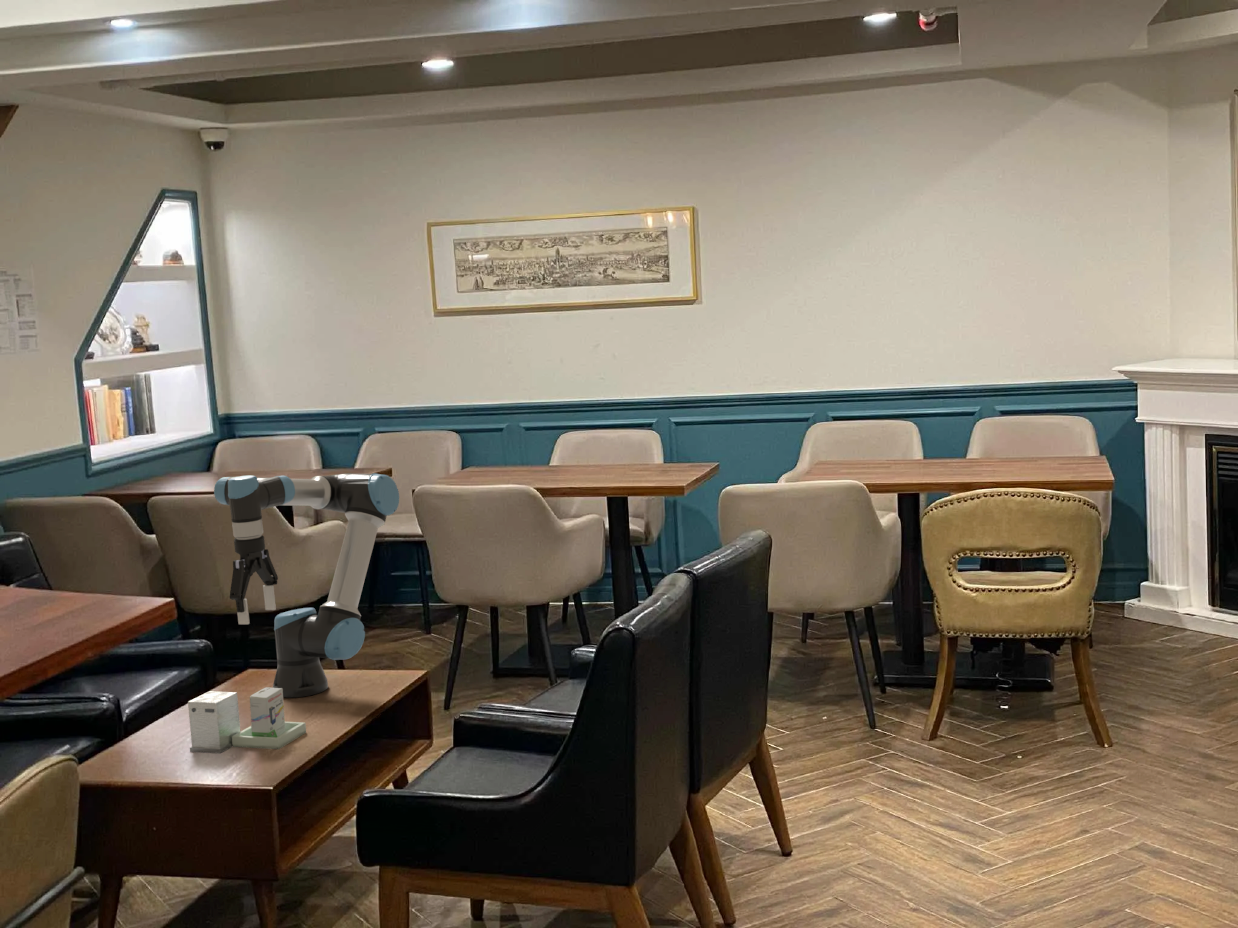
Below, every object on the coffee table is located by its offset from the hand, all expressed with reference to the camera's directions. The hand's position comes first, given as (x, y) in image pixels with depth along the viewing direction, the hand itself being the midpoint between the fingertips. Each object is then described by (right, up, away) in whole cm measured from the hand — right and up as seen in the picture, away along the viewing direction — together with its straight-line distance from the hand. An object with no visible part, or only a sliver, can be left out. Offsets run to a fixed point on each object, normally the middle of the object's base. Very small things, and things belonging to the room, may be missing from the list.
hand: (257, 616), depth 340 cm
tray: (+6, -30, -10) cm, 32 cm away
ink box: (+6, -29, -10) cm, 32 cm away
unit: (-7, -31, -13) cm, 34 cm away
